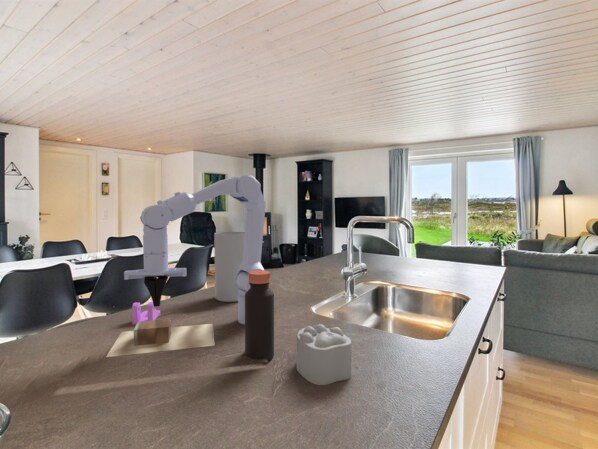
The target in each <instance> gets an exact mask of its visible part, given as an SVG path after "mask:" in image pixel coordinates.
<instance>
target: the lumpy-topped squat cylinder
mask: <svg viewBox="0 0 598 449" xmlns="http://www.w3.org/2000/svg"><path fill="white" fill-rule="evenodd" d="M352 344H353V342H352V339H351V338H350V337H348V336H347V335H345V333H343V330H342V329H341V328H340V327H339V326H333V327H329V328H328V327H326V326H325V325H324V324H322V323H319V324H316V325H312V326H311V325H307V326H305V327H303V328H301V329H299V331H298V332H297V335H296V371H297V372H298V373H299V374H300V375H301V376H302V377H303V378H304V379H306V381H308V382H309V383H312V384H314V385H316V386H327V385H331V384H333V383H335V382H340V381H346V380H348V379H351V377H352V360H353V359H352V358H353V357H352V354H353V352H352V351H353V350H352V349H353V348H352Z"/></svg>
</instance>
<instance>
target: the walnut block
mask: <svg viewBox="0 0 598 449" xmlns="http://www.w3.org/2000/svg"><path fill="white" fill-rule="evenodd" d="M171 322H172V320H171V319H169V318H168V319H157V320H156V319H155V320H154V321H142V322H138V323H137V324H135V327H134V328H133V331H134V346H138V345H148V344H158V343H168V342H169V340H170V336H171V327H172V324H171Z"/></svg>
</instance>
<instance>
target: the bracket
mask: <svg viewBox="0 0 598 449" xmlns="http://www.w3.org/2000/svg"><path fill="white" fill-rule="evenodd" d="M141 307H142V305H141V303H140V302H133V303H132V306H131V320H132V324H131V325H137V323H138V322H142V321H154V320H156V319H157V318H158V317H159V316H161V310H160V309H156V307H154V305H153V301H149V302H148V303H147V309H146V310H144V311H142V309H141Z"/></svg>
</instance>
